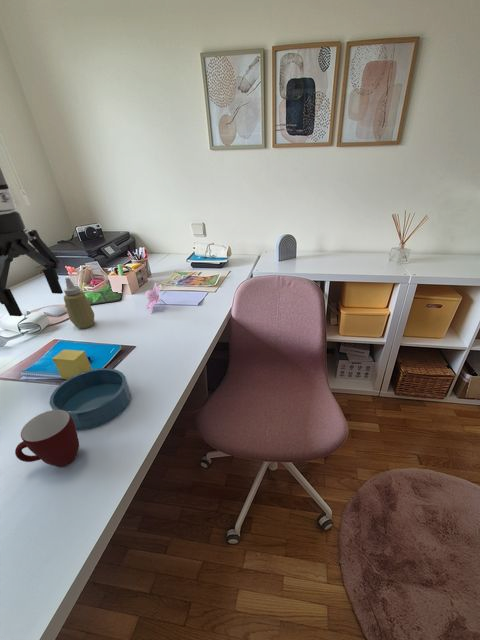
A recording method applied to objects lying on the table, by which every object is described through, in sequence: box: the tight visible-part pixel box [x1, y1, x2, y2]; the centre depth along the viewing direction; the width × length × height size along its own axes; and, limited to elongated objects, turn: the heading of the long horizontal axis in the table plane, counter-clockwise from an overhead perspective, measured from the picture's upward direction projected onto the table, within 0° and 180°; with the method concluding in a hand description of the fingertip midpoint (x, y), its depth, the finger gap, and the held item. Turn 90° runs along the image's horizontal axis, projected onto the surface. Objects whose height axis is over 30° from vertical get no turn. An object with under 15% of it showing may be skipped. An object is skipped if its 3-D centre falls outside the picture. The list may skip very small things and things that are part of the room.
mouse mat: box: [64, 284, 123, 308], centre depth 136 cm, size 27×22×1 cm
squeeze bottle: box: [63, 277, 95, 330], centre depth 106 cm, size 8×8×18 cm
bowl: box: [48, 367, 132, 431], centre depth 74 cm, size 17×17×5 cm
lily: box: [145, 282, 167, 314], centre depth 120 cm, size 12×12×10 cm
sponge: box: [51, 349, 93, 380], centre depth 83 cm, size 6×4×7 cm
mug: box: [14, 409, 80, 468], centre depth 58 cm, size 11×8×10 cm
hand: (38, 303), depth 76 cm, fingers open, 13 cm apart
